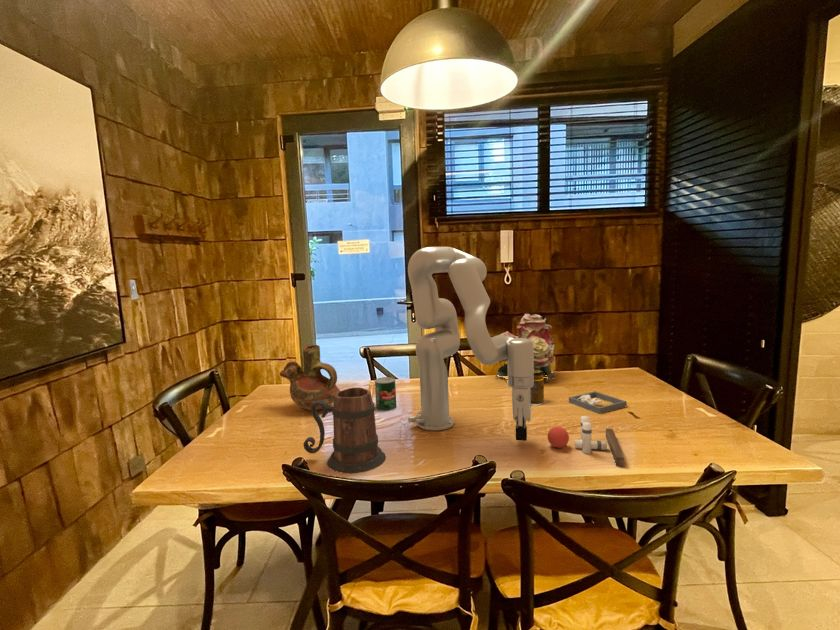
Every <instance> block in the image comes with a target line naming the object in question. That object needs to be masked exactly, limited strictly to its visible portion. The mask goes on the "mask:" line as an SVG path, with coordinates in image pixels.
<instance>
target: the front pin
mask: <svg viewBox="0 0 840 630" xmlns="http://www.w3.org/2000/svg"><path fill="white" fill-rule="evenodd" d="M574 448H575V449H582V440H581V439H574ZM591 450H597V451H598V450H599V451H601V450H602V451H607V450H608V442H607V440H592V439H591Z"/></svg>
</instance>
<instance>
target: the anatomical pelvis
mask: <svg viewBox="0 0 840 630" xmlns="http://www.w3.org/2000/svg"><path fill="white" fill-rule="evenodd" d="M578 400H580V401H583V402H586V403H589V404H592V405H594V406H595V405H597V404H601V403H602V402H603V400H602V399H598V398H596V397H593V398H591V397H590V395H583V396H581V397H580V398H578Z"/></svg>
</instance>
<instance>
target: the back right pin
mask: <svg viewBox="0 0 840 630" xmlns="http://www.w3.org/2000/svg"><path fill="white" fill-rule="evenodd" d="M592 427H593V425H592V423H591V422H590V423H589V422H583V428H582V448H581V450H582V453H583V454H585V453H587V454H586V455H590V454H589V453H591V454H592V449H591V440H592V432H593V428H592Z"/></svg>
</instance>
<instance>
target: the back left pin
mask: <svg viewBox="0 0 840 630" xmlns="http://www.w3.org/2000/svg"><path fill="white" fill-rule="evenodd" d="M590 419H591V417H590V416H587V415H582V416H580V440H582V428H583V422H589V423H591V422H590Z"/></svg>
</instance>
